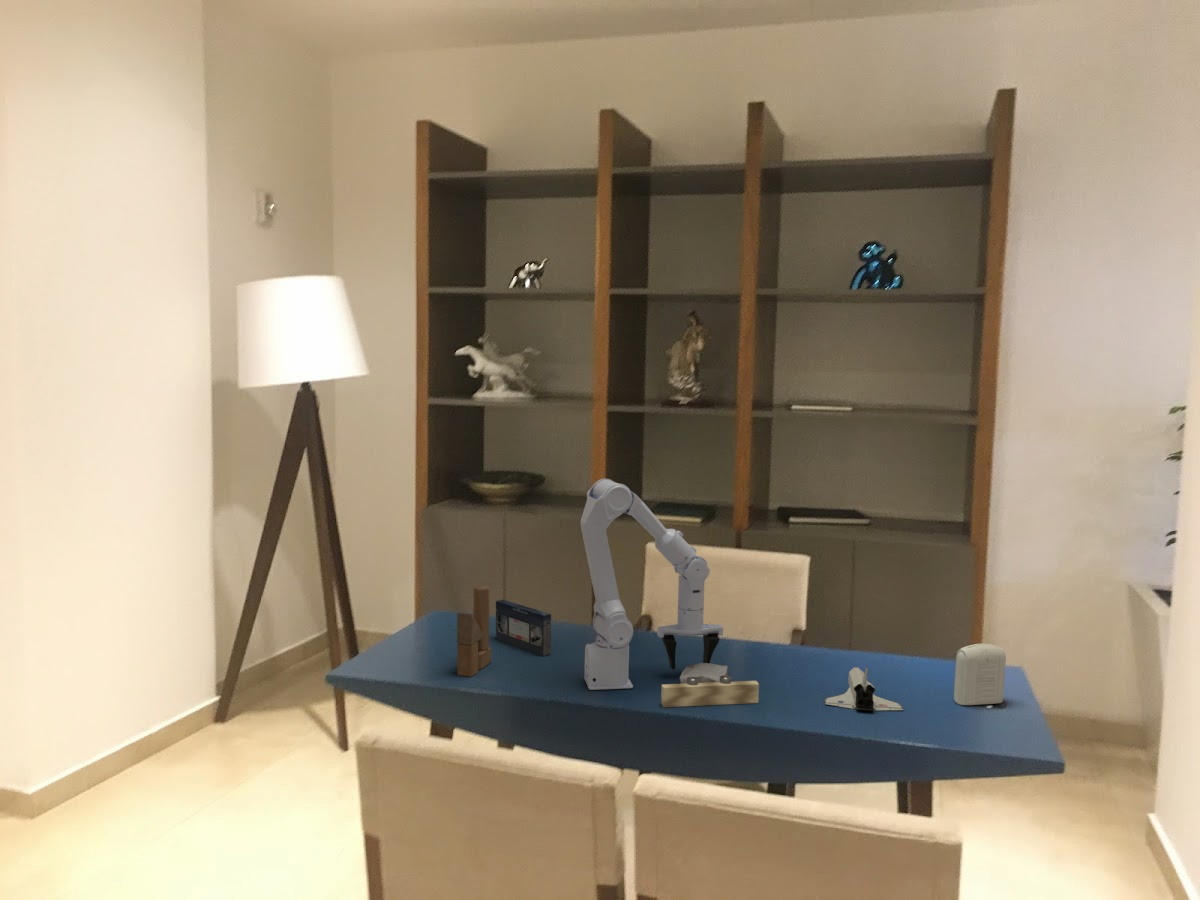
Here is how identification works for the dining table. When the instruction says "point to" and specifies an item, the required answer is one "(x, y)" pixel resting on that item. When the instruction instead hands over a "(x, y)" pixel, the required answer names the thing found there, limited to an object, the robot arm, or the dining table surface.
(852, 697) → the space shuttle model
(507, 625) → the vhs cassette tape
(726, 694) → the bench stop
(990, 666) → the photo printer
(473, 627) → the stacked wooden blocks
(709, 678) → the stone block
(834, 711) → the dining table surface
